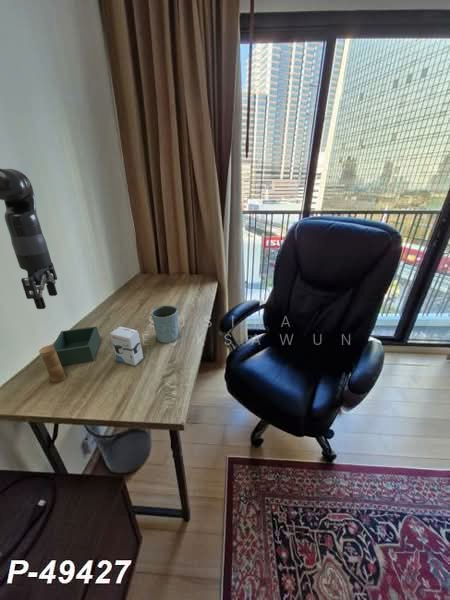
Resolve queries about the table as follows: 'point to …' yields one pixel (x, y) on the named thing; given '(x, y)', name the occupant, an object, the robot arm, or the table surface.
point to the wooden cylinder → (52, 363)
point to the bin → (77, 345)
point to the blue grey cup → (165, 323)
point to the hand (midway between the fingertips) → (47, 301)
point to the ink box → (127, 345)
